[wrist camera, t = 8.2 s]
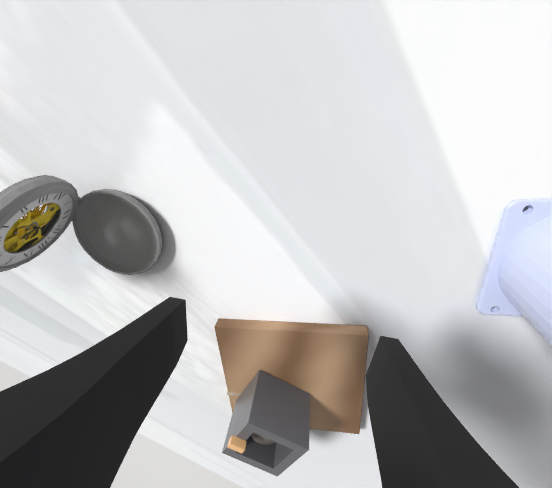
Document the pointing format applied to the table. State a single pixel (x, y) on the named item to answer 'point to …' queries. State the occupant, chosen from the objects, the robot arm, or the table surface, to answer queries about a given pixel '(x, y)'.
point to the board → (300, 365)
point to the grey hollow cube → (269, 424)
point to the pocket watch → (77, 225)
